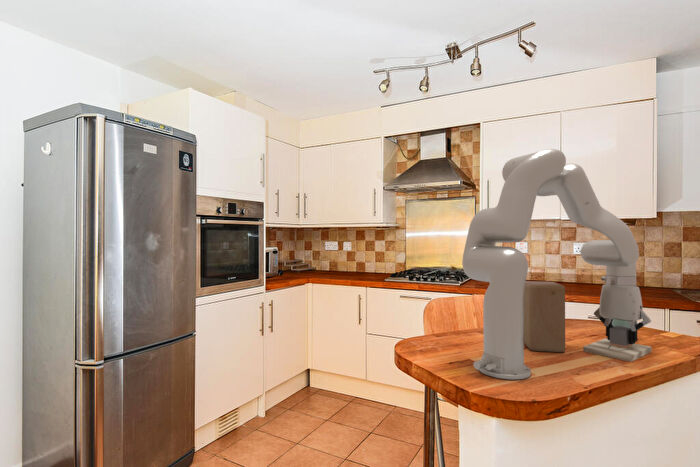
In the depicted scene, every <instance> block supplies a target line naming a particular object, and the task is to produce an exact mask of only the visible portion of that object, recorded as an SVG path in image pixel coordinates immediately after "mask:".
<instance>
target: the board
mask: <svg viewBox="0 0 700 467" xmlns="http://www.w3.org/2000/svg"><path fill="white" fill-rule="evenodd" d="M582 347H583V348H582V349H583V352H585V353H590V354H594V355H599V356H602V357H607V358H613V359H617V360H621V361H626V362H630V363H632V362H634V361H636V360H638V359H641V358H642V357H643V356H646V355H647V354H650V353H652V350H653V349H652V348H653V347H652V346H648V345H643V344H639V343H635V344H633V345H631V346H629V347H626V348H623V347H618V346H613V345H610V340H607V338H603V339H600V340H596V341H595V342H591V343H590V344H589V343H588V344H585V345H583V346H582Z"/></svg>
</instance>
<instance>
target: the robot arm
mask: <svg viewBox="0 0 700 467" xmlns="http://www.w3.org/2000/svg"><path fill="white" fill-rule="evenodd" d="M501 171H502V172H501V174H502V178H503V181H504V183H503V185H502V189H501V192H500V196H499V198H498V202H497V205H496V206H495V207H490V208H489V207H488V208H483V209H481V210H479V211H478V212H476V213H475V214H474V216H473V217H472V219H471V221H470V223H469V228H468V232H467V237H466V240H465V244H464V249H463V254H462V260H461V261H462V269H463V272H464V274H465V275H466V277H468V278H470V279H471V280H473V281H474V280H475V281H478V282H485V283H489V285H488V286H487V289H486V290H485V293H484V296H483V301H482V302H483V305H482V307H483V308H482V310H483V312H482V313H483V353H482V354H481V359H480V360H477V361H476V360H475V361H474V362H473V367H474V368H475V370H478V371H479V372H480V373H481V374H484V375H486V376H490V377H493V378H496V379H502V380H514V381H515V380H524V379H527V378H529V377H530V376H531V375H532V369H531V368H530V367H529V366H528V365H526V364H525V343H524V287H525V281H527V277H528V272H529V271H528V270H529V263H528V259H527V257H526V255H525V254H524V253H523V252H522V251H521V250H520V249H518V248H515V247H511V246H506V245H505V246H503V245H502V246H501V245H500V246H498V245H497V246H496V244H497V243H498V244H500V243H501V244H502V243H504V244H505V243H507V244H510V243H520V242H521V241H524V240H525V239H526V238H527V236H528V233H529V230H530V228H531V221H532V219H533V218H532V217H533V212H534V208H535V203H536V199H537V197H550V196H552V197H553V196H557V197H558V199H559V202H560V204H561V205H562V207H563V209H564V212H565V213H566V216H567V217H568V219H569V221H571V222H573V223H575V224H577V225H580V226H582V227H585V228H588V229H590V230H593V231H597V232H598V233H600V234H602V235H603V236H606V237H607V238H608V239H593V240H589V241H586V242H585V243H584V244H583V245H582V247H581V249H580V256H581V258H582V260H583V261H584V262H586V263H587V264H589V265H594V266H605V274H604V276H603V275H602V276H600V281H603V282H604V283H605V284H602V286H601V292H600V299H599V307H598V308H597V309H596V310H595V311H593V315H594V316H595V317H596V318H598V319H599V321H600V322H601V323H602V324H603V325H604V327H605V337H607V340H610V328H612V327H613V326H612V323H613V320H614V319H618V320H624V321H628V322H629V325H630V328H631V329H630V331H629V344H631V345H632V344H637V343H636V342H638V331H639V330H640V329H642V328H643V327H645V326H647V325H648V324H651V323H652V320H651V318H650V317H649V316H648V315H647V314H646V312H645V311H644V308H643V300H642V294H641V290H640V287H639V286H637V262H638V260H639V258H640V251H639V246H638V243H637V240H636V239H635V236H634V233H633V231H632V230H631V228H630V227H629V226H628V225H627V224H626V223H625V222H624V221H623V220H622V219H620V218H619V217H617V216H616V215H614V213H612V212H610V211H608V210H607V209H605V208H603V207H602V205H601V203H600V202H599V200H598V198H597V195H596V194H595V191H594V189H593V187H592V184H591V182H590V180H589V178H588V176H587V173H586V172H585V170H584V168H583V167H582V166H580V165H579V164H576V163H567V158H566V155H565V153H564V152H563V151H562V150H559V149H555V148H546V149H543V150H540V151H535V152H532V153H528V154H525V155H521V156H517V157H514V158H510V159H509V160H507V161H506V163H504V165H503V167H502V170H501ZM640 320H642V321H640ZM638 321H640V322H638Z"/></svg>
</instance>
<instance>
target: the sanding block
mask: <svg viewBox="0 0 700 467" xmlns="http://www.w3.org/2000/svg"><path fill="white" fill-rule="evenodd" d="M630 329H631V328H629V327H623V326H615V327H612V328H610V345H613V346H618V347H623V348H626V347H629V346H631V344H629V331H630ZM632 345H633V344H632Z"/></svg>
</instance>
